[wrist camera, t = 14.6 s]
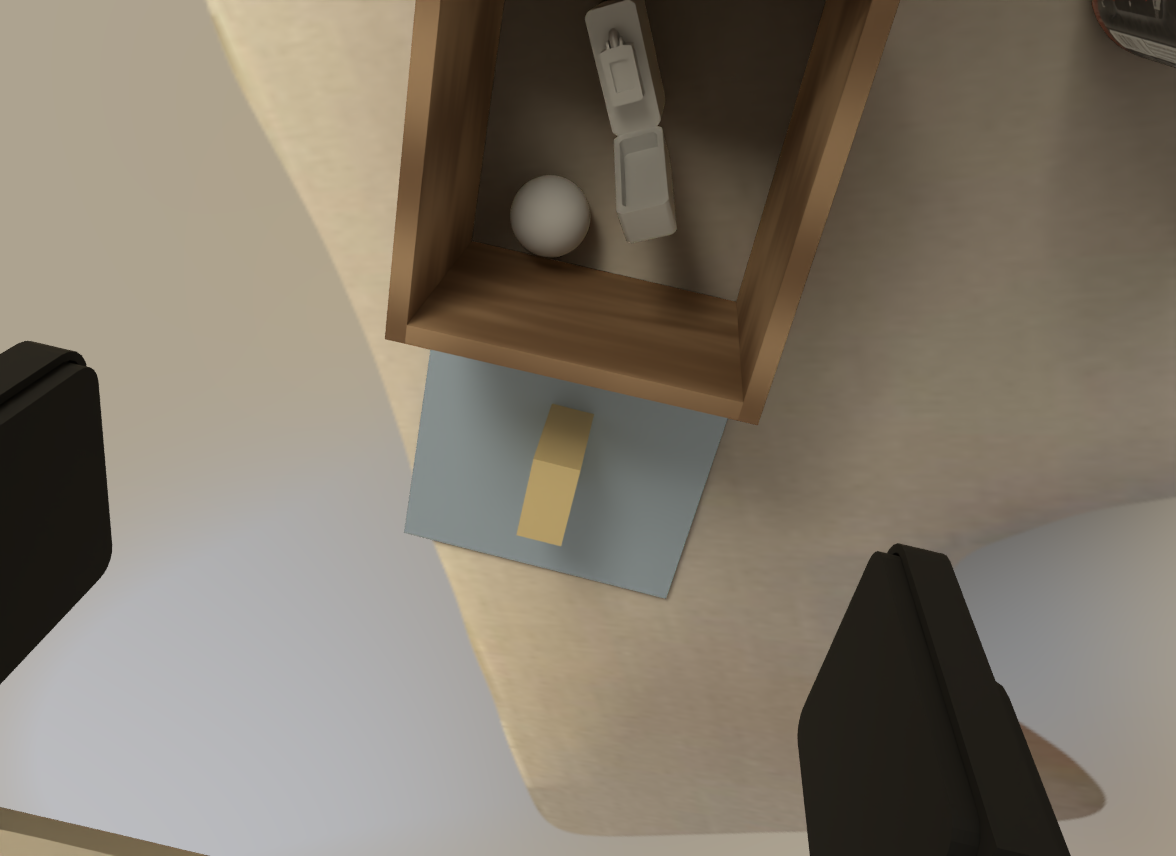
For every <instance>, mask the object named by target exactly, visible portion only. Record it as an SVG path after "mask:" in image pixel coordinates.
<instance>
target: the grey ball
mask: <svg viewBox="0 0 1176 856" xmlns="http://www.w3.org/2000/svg"><path fill="white" fill-rule="evenodd" d="M510 219H511V226H512V229H513V232H514V234H515V236H516V238H517V239H518V241H519V242H520V243H521V244H522V245H523V246H524V247H525V248H526V249H527V250H529V251H530V252H532V253H534V254H536V255H539V256H544V257H558V256H562V255H565V254H567V253H569V252H571V251H573V250H574V249H575V248H577V247H578V246H579V245H580V243H581V242H582V241H583V239H584V238H585V236H586V234H587V232H588V229H589V225H590V208H589V204H588V201H587V199H586V197H585V195H584V193H583V192H582V191H581V189H580V188H579V187H578V186H577V185H576V184H574V183H573V182H572V181H570V180H568V179H566V178H564V177H561V176H556V175H544V176H540V177H536V178H534V179H532V180H530V181H528V182H527V183H526V184H525V185H523V186H522V187H521V188H520V190H519V191H518V192H517V194H516V196H515V198H514V200H513V202H512V206H511V212H510Z"/></svg>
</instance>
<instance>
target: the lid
mask: <svg viewBox="0 0 1176 856" xmlns="http://www.w3.org/2000/svg"><path fill="white" fill-rule="evenodd" d="M727 419H728V418H724V417H720V416H716V415H711V414H707V413H703V412H698V411H694V410H690V409H685V408H681V407H677V406H673V405H668V404H664V403H660V402H655V401H651V400H647V399H642V398H638V397H634V396H629V395H625V394H621V393H616V392H612V391H608V390H603V389H599V388H595V387H590V386H586V385H582V384H577V383H573V382H569V381H564V380H560V379H556V378H551V377H547V376H543V375H538V374H534V373H530V372H525V371H521V370H517V369H512V368H508V367H504V366H499V365H495V364H491V363H486V362H482V361H478V360H474V359H469V358H465V357H461V356H456V355H452V354H448V353H443V352H439V351H435V350H430V357H429V364H428V371H427V378H426V385H425V392H424V399H423V405H422V412H421V419H420V426H419V433H418V440H417V447H416V454H415V461H414V468H413V475H412V482H411V489H410V496H409V502H408V509H407V516H406V523H405V530H404V533H408V534H411V535H415V536H419V537H423V538H427V539H431V540H435V541H439V542H443V543H447V544H451V545H455V546H459V547H463V548H467V549H470V550H474V551H478V552H482V553H486V554H490V555H494V556H498V557H502V558H506V559H510V560H514V561H518V562H522V563H526V564H530V565H534V566H538V567H542V568H546V569H550V570H554V571H558V572H562V573H566V574H570V575H574V576H578V577H582V578H586V579H590V580H594V581H598V582H602V583H606V584H610V585H614V586H617V587H621V588H625V589H629V590H633V591H637V592H641V593H645V594H649V595H653V596H657V597H661V598H665V599H666V597H667V594H668V591H669V588H670V586H671V583H672V580H673V577H674V574H675V571H676V568H677V565H678V562H679V559H680V556H681V553H682V551H683V548H684V545H685V542H686V539H687V536H688V533H689V530H690V527H691V524H692V521H693V518H694V516H695V513H696V510H697V507H698V504H699V501H700V498H701V495H702V492H703V489H704V486H705V483H706V480H707V478H708V475H709V472H710V469H711V466H712V463H713V460H714V457H715V454H716V451H717V448H718V445H719V443H720V440H721V437H722V434H723V431H724V428H725V425H726V422H727Z"/></svg>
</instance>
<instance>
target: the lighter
mask: <svg viewBox="0 0 1176 856" xmlns="http://www.w3.org/2000/svg"><path fill="white" fill-rule="evenodd" d="M585 22H586V26H587V30H588V34H589V38H590V42H591V47H592V51H593V55H594V59H595V63H596V67H597V71H598V75H599V79H600V83H601V87H602V92H603V96H604V100H605V104H606V108H607V112H608V116H609V120H610V124H611V128H612V132H613V133H614V134H616V135H617V137H616V138H615V139H614V161H615V187H616V212H617V215H618V218H619V221H620V224H621V226H622V229H623V232H624V235H625V238H626V241H627V242H630V243H636V242H641V241H645V240H649V239H654V238H658V237H663V236H667V235H672V234H673V233H674V232H675V231H676V230H677V224H676V214H675V204H674V193H673V183H672V172H671V162H670V156H669V152H668V148H667V144H666V141H665V137H664V133H663V129H662V128H661V127H659V126H658V124H659V122H660V121H661V118H662V114H663V110H664V106H665V102H666V98H665V93H664V89H663V84H662V79H661V75H660V70H659V65H658V61H657V56H656V52H655V47H654V42H653V38H652V33H651V28H650V24H649V19H648V14H647V10H646V5H645V0H608V1H605V2H602V3H600V4H598V5H597V6H595V7H594V8H592V9H591V10H589V11H588V13H587V14H586V16H585Z"/></svg>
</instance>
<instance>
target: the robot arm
mask: <svg viewBox="0 0 1176 856" xmlns="http://www.w3.org/2000/svg"><path fill="white" fill-rule="evenodd" d="M111 554H112V538H111V526H110V514H109V502H108V490H107V478H106V466H105V454H104V444H103V431H102V419H101V407H100V395H99V383H98V378H97V374H96V373H95V371H94V370H93V369H92V368H90V367H87V366H86V362H85V360H84V358H83V357H82V355H80V354H79V353H77V352H75V351H71V350H66V349H62V348H58V347H54V346H49V345H45V344H41V343H37V342H32V341H24V342H21V343H18V344H16V345H15V346H13V347H11V348H10V349H8V350H6V351H5V352H3V353H1V354H0V684H1V683H2V682H3V681H4V680H5V679H6V678H7V677H8V675H9V674H10V673H11V672H12V671H13V670H14V669H15V668H16V667H17V666H18V665H19V664H20V663H21V662H22V661H23V660H24V659H25V657H26V656H27V655H28V654H29V653H30V652H31V651H32V650H33V649H34V648H35V647H36V646H37V644H39V642H40V641H41V640H42V639H43V638H44V637H45V636H46V635H47V634H48V633H49V632H50V631H51V630H52V629H53V628H54V627H55V626H56V625H57V623H58V622H59V621H60V620H61V619H62V618H63V617H64V616H65V615H66V614H67V613H68V612H69V611H70V610H71V609H72V607H73V606H74V605H75V604H76V603H77V602H78V601H79V600H80V599H81V598H82V597H83V596H84V595H85V594H86V593H87V592H88V591H89V589H90V588H91V587H92V586H93V585H94V584H95V583H96V582H97V581H98V580H99V579H100V578H101V576H102V575H103V574H104V572H105V570H106V569H107V567H108V564H109V562H110V559H111ZM798 749H799V758H800V767H801V777H802V786H803V795H804V805H805V814H806V823H807V833H808V842H809V851H810V856H1071V855H1070V853H1069V850H1068V848H1067V845H1066V843H1065V840H1064V837H1063V835H1062V832H1061V830H1060V827H1059V824H1058V822H1057V819H1056V817H1055V814H1054V812H1053V809H1052V806H1051V804H1050V801H1049V799H1048V796H1047V794H1046V791H1045V788H1044V786H1043V783H1042V781H1041V778H1040V776H1039V773H1038V770H1037V768H1036V765H1035V763H1034V760H1033V758H1032V755H1031V752H1030V750H1029V747H1028V745H1027V742H1026V740H1025V737H1024V734H1023V732H1022V729H1021V727H1020V724H1019V722H1018V719H1017V716H1016V714H1015V712H1014V709H1013V706H1012V704H1011V701H1010V699H1009V697H1008V695H1007V693H1006V691H1005V689H1004V688H1003V686H1001V685H1000V684H999V683H997V682H996V681H995V679H994V676H993V673H992V671H991V668H990V665H989V663H988V660H987V657H986V655H985V652H984V650H983V647H982V644H981V641H980V639H979V636H978V634H977V631H976V628H975V626H974V623H973V620H972V618H971V615H970V613H969V610H968V607H967V605H966V602H965V599H964V597H963V594H962V591H961V589H960V586H959V584H958V581H957V578H956V576H955V573H954V570H953V568H952V565H951V562H950V560H949V559H948V557H947V556H946V555H944V554H942V553H937V552H933V551H929V550H924V549H920V548H916V547H912V546H907V545H903V544H899V543H897V544H895V545H893V546H892V547H891V548H890V549H889V551H888V553H883V552H879V551H877V552H875V553H874V554H873V555H872V556H871V558H870V560H869V562H868V564H867V566H866V568H865V571H864V573H863V575H862V577H861V580H860V582H859V584H858V586H857V588H856V591H855V593H854V595H853V597H852V600H851V602H850V604H849V606H848V609H847V611H846V613H845V615H844V618H843V620H842V622H841V624H840V626H839V629H838V631H837V633H836V635H835V638H834V640H833V642H832V644H831V647H830V649H829V651H828V653H827V655H826V658H825V660H824V662H823V664H822V667H821V669H820V671H819V673H818V676H817V678H816V680H815V682H814V685H813V687H812V689H811V691H810V693H809V696H808V698H807V700H806V702H805V705H804V707H803V709H802V712H801V716H800V720H799V726H798ZM0 856H208V855H204V854H199V853H195V852H191V851H186V850H182V849H178V848H174V847H170V846H165V845H161V844H157V843H153V842H149V841H144V840H140V839H136V838H132V837H127V836H123V835H119V834H115V833H110V832H106V831H102V830H98V829H93V828H89V827H85V826H80V825H76V824H71V823H67V822H63V821H58V820H54V819H50V818H46V817H41V816H37V815H32V814H28V813H24V812H19V811H15V810H11V809H7V808H2V807H0Z"/></svg>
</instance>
